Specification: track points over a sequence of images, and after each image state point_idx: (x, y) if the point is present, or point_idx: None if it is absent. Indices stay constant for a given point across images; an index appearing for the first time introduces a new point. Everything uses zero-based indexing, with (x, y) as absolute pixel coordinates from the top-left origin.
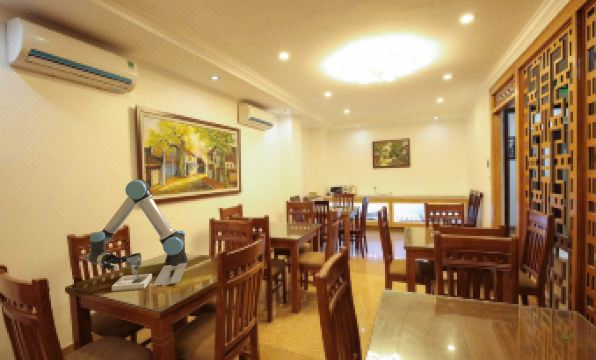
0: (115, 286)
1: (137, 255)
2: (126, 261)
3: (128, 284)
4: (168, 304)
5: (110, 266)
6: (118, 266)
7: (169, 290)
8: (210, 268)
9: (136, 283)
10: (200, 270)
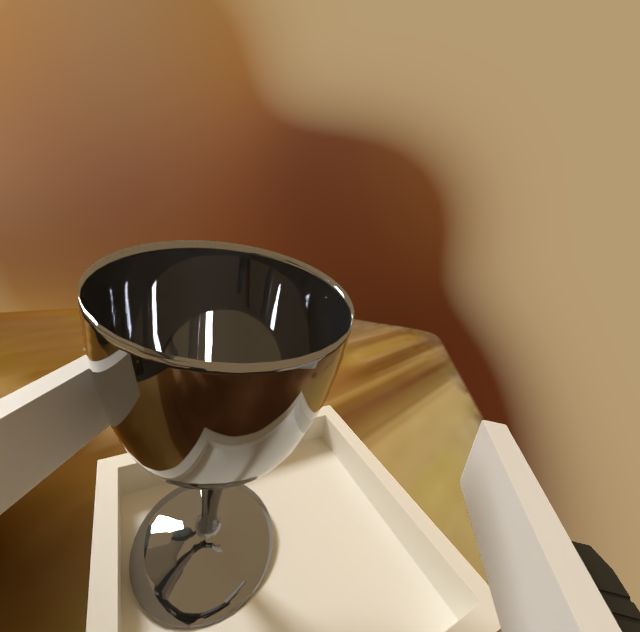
0: (477, 580)
1: (272, 255)
2: (326, 394)
3: (390, 479)
4: (399, 330)
5: (626, 602)
6: (482, 437)
7: None
8: (4, 315)
9: (349, 441)
10: (20, 333)
